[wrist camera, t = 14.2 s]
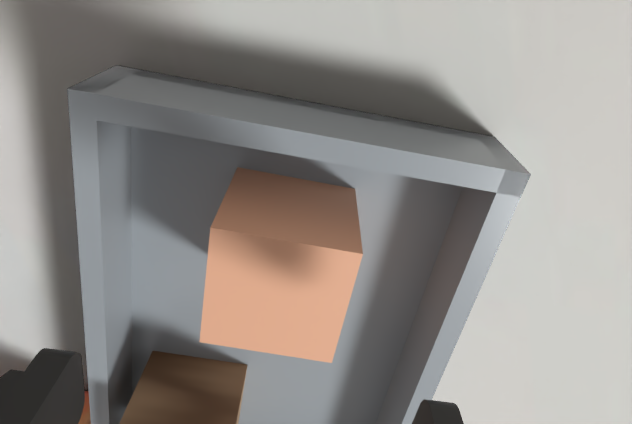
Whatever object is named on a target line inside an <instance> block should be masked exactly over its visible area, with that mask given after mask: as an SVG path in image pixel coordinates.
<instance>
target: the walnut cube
mask: <svg viewBox="0 0 632 424" xmlns="http://www.w3.org/2000/svg"><path fill="white" fill-rule="evenodd" d="M246 372H247V365H246V364H239V363H233V362H226V361H219V360H213V359H206V358H199V357H193V356H186V355H180V354H173V353H166V352H160V351H152V353H151V355H150V357H149V359H148V362H147V364H146V366H145V368H144V370H143V373H142V375H141V377H140V379H139V381H138V384H137V386H136V388H135V390H134V392H133V395H132V397H131V399H130V401H129V403H128V406H127V408H126V410H125V412H124V414H123V417H122V419H121V421H120V423H119V424H238V422H239V416H240V410H241V403H242V397H243V391H244V384H245V378H246Z"/></svg>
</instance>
